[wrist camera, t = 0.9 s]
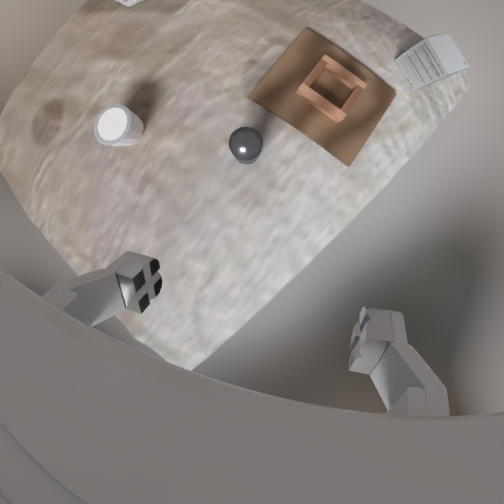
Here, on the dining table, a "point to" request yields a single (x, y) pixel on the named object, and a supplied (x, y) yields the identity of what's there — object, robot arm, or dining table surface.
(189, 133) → the dining table surface
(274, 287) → the dining table surface
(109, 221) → the dining table surface
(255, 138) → the peg
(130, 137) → the shot glass
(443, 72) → the supplement box
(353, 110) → the keeper board
